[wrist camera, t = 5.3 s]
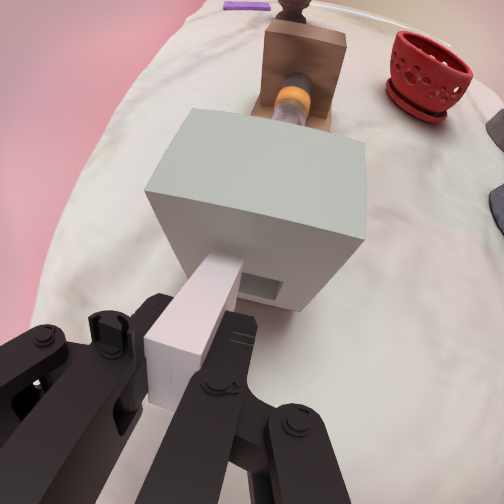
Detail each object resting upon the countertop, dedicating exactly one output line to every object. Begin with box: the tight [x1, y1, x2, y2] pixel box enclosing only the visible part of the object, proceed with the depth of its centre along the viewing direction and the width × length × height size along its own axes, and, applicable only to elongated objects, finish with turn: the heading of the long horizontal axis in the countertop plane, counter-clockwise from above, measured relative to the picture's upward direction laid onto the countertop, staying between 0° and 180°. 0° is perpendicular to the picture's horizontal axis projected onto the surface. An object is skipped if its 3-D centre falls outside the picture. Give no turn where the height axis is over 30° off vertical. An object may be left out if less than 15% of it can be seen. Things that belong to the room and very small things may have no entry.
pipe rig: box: [250, 19, 347, 133], centre depth 22 cm, size 9×26×12 cm, turn 166°
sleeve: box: [144, 108, 366, 312], centre depth 16 cm, size 8×5×12 cm, turn 76°
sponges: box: [224, 1, 271, 11], centre depth 53 cm, size 7×13×2 cm, turn 92°
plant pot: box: [386, 31, 473, 122], centre depth 30 cm, size 13×13×12 cm
